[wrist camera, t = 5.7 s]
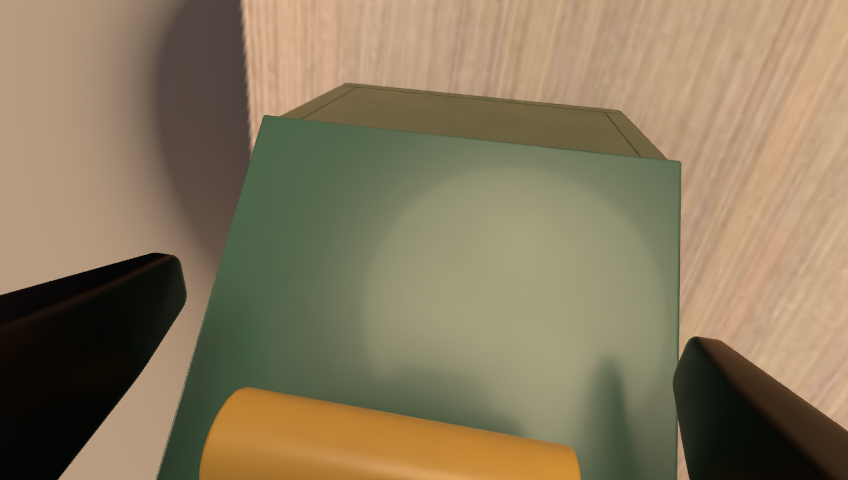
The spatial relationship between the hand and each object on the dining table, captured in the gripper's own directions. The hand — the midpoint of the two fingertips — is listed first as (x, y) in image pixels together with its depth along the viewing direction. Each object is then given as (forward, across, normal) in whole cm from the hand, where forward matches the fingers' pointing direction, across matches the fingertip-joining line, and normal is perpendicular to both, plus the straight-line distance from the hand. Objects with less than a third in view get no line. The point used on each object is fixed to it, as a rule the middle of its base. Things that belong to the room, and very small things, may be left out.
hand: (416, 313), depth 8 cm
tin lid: (0, 0, +4) cm, 4 cm away
